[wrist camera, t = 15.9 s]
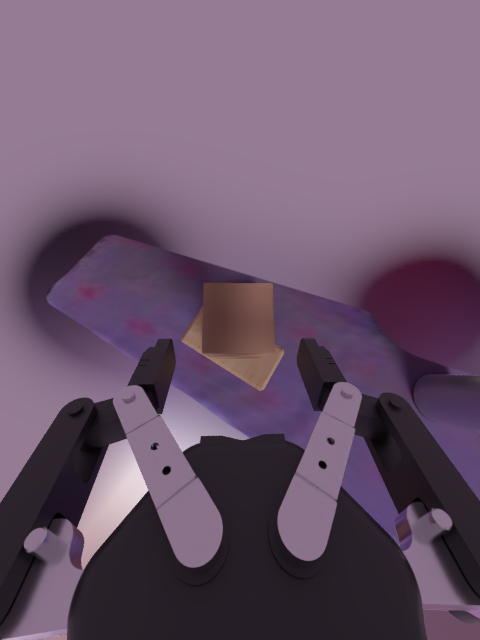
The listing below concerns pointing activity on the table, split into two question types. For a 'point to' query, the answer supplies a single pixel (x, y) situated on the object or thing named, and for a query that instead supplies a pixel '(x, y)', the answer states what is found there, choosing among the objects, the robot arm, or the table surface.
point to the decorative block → (245, 369)
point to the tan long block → (238, 320)
